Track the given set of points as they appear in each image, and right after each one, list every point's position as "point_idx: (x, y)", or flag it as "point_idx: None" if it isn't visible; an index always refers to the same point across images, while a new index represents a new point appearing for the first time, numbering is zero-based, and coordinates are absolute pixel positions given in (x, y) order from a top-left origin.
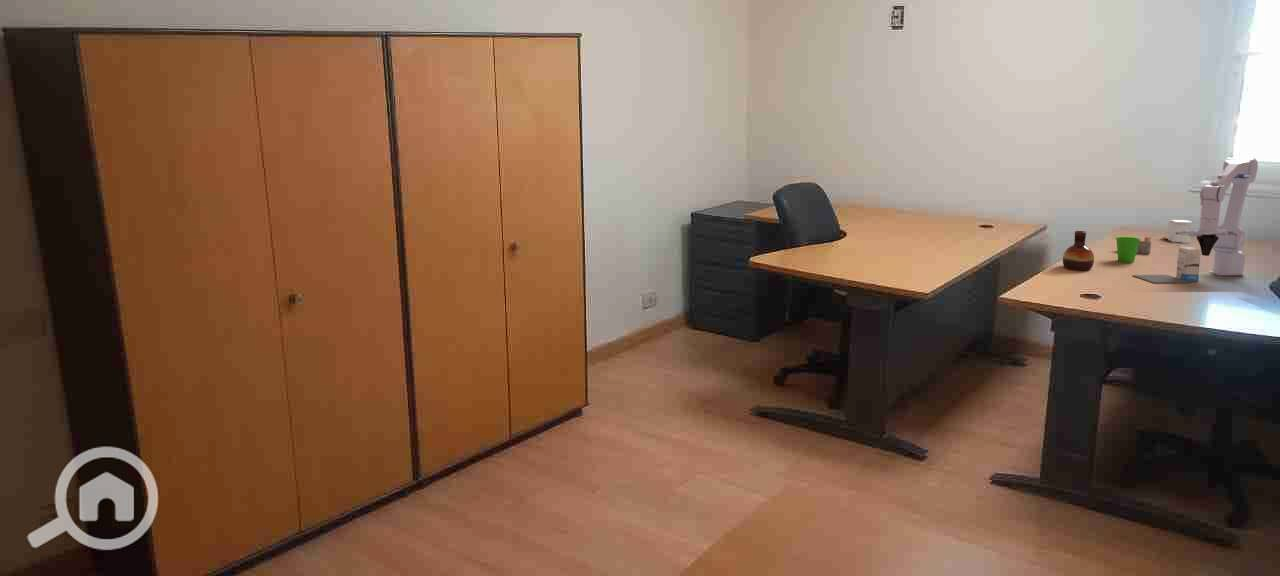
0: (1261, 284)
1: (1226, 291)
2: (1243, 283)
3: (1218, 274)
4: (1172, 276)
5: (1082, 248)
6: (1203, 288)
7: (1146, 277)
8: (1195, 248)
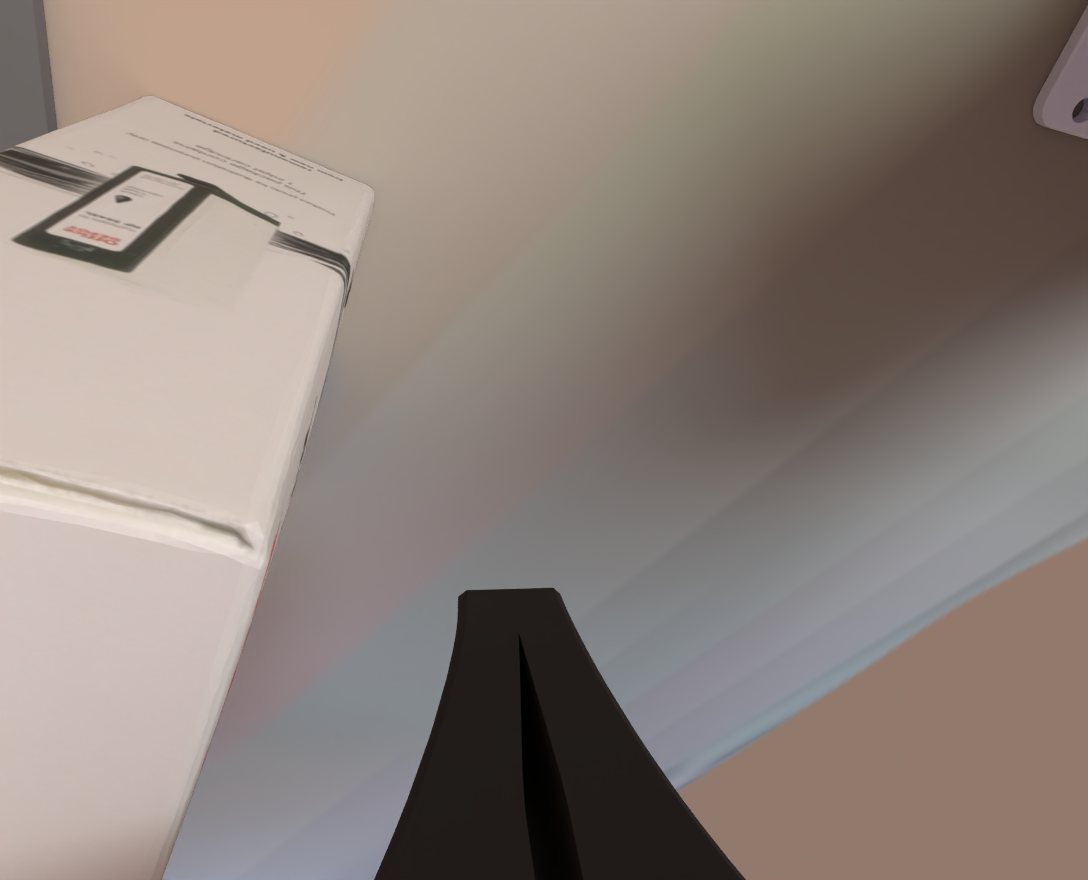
0: (810, 670)
1: (237, 842)
2: (707, 620)
3: (1044, 93)
4: (41, 107)
5: None
6: None
7: None
8: (153, 806)
